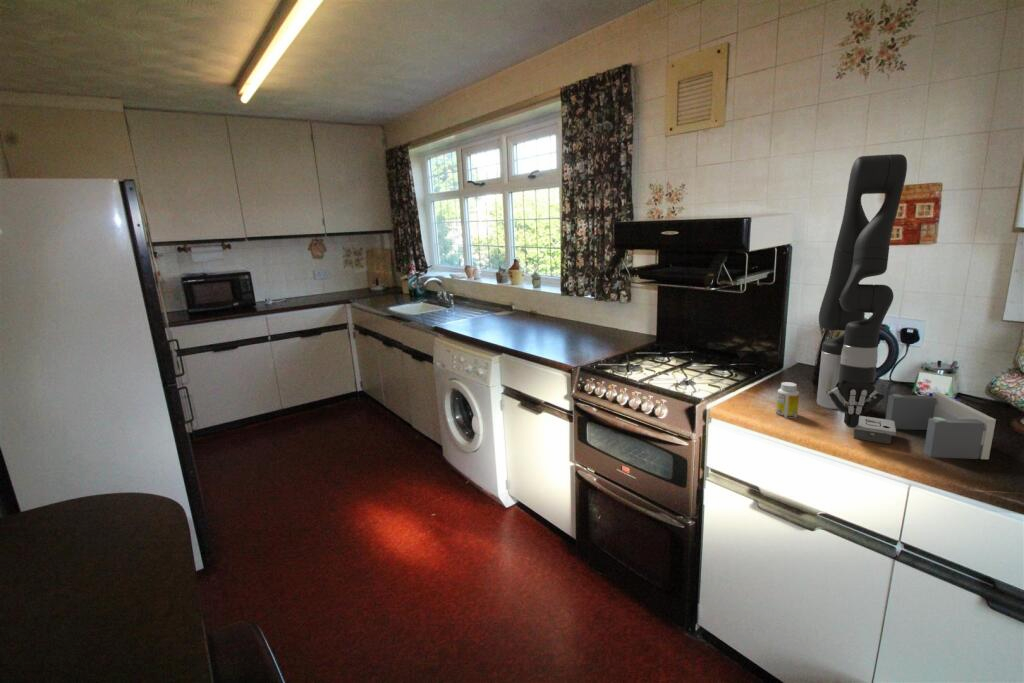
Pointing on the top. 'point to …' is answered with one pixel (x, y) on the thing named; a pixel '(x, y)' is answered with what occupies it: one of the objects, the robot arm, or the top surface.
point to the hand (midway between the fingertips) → (850, 426)
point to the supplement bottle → (787, 400)
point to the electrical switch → (875, 429)
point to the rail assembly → (944, 425)
